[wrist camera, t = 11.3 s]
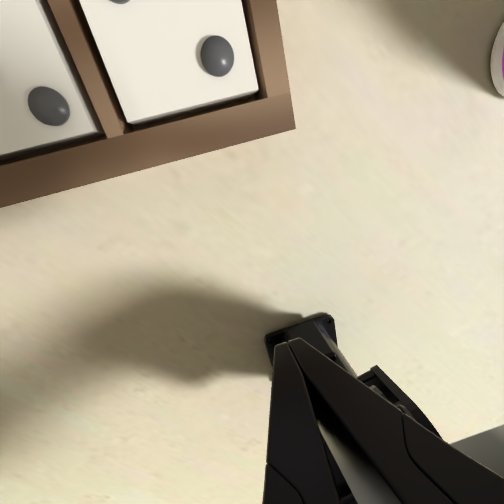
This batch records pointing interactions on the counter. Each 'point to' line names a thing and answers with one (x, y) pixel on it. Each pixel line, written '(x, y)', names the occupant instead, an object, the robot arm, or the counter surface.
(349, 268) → the counter surface
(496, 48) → the supplement bottle
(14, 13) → the tile three pips
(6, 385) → the counter surface
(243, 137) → the tile panel
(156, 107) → the tile two pips
